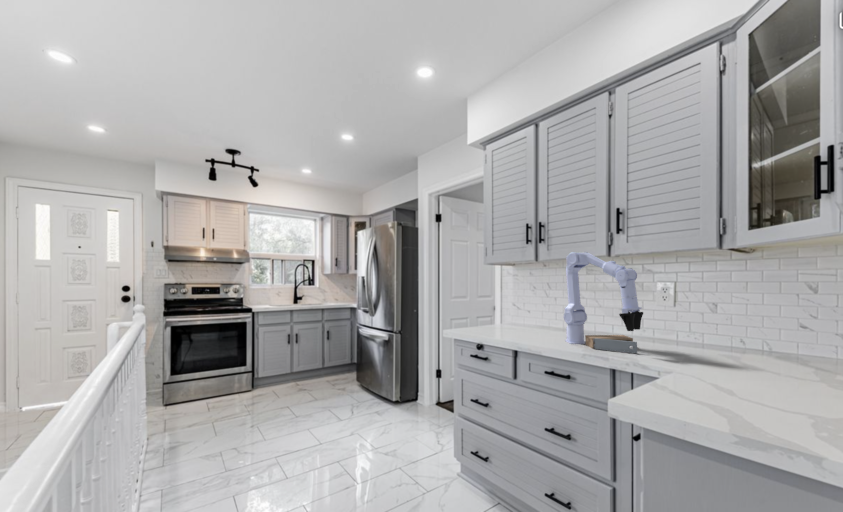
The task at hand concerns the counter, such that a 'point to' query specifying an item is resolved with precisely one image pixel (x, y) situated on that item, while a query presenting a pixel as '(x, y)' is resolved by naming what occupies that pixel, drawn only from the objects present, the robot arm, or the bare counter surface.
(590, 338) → the cabinet
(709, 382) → the counter surface
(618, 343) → the door
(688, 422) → the counter surface
